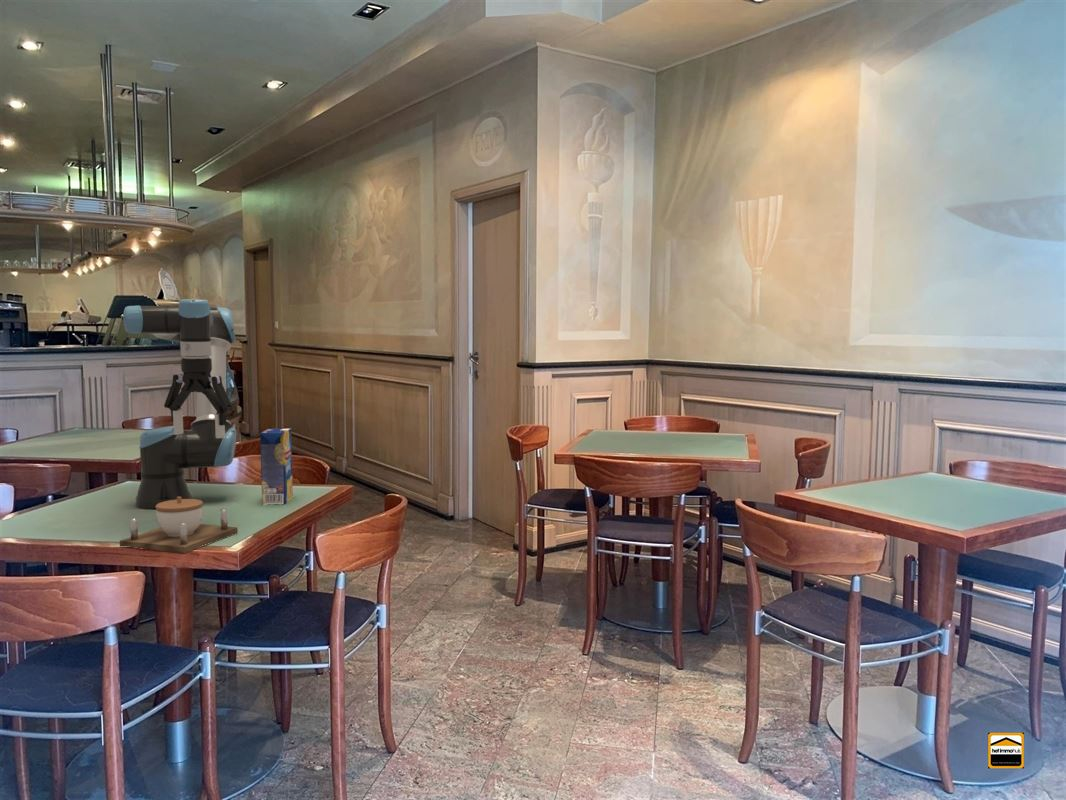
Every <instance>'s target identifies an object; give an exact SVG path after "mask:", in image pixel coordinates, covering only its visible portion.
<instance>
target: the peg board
mask: <svg viewBox="0 0 1066 800" xmlns="http://www.w3.org/2000/svg"><path fill="white" fill-rule="evenodd" d="M238 530H239V529H238V526H228V529H225V530H222V529H221V525H216V524H214V525H213V524H202V523H200V525H199V526H198V528H197V529H196V530H195V531H194V533H193V534H191V535H187V542H188V544H185V545H181V544H180V537H170V536H167V534H166V533H165V532H164V531H162V530H161V528H160V527H157V528H155V529H154V528H153V529H151V530H148V531H145V532H141V533H138V539H136V540H131V536H130V537H126V538H123V539H121V540H119V547H120V546H130V547H137V548H143V549H142V550H149V551H150V550H151V551H161V552H169V553H180V554H187V553H189V552H193V551H194V549H195V550H197V549H196V548H198V547H200V546H202V545H205V544H208V543H210V544H212V543H211V542H213V543H215V542H214V541H216V540H218V541H220V540H219V539H221V540H223V539H225V538H224V537H226V538H228V537H227V536H229V537H230V535H231V536H233V535H232V534H234V535H236V534H238V533H237V532H239V531H238ZM235 533H236V534H235ZM222 538H223V539H222ZM216 542H217V541H216ZM208 545H209V544H208ZM205 546H206V545H205ZM137 548H136V549H137ZM200 548H201V547H200ZM198 549H199V548H198Z"/></svg>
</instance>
